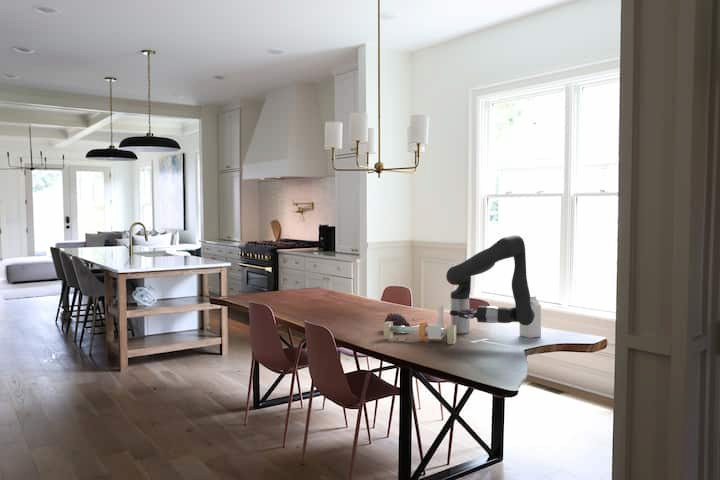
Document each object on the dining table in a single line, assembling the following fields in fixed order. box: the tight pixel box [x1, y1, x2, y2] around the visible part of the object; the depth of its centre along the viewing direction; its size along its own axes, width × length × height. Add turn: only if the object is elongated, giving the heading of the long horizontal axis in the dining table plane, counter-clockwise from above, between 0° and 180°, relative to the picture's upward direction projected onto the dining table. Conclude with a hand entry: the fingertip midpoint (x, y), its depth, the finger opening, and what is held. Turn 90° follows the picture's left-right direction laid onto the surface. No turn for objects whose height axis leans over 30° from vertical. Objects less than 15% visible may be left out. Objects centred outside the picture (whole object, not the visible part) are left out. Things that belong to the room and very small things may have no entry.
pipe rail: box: [383, 321, 457, 345], centre depth 272 cm, size 34×9×8 cm, turn 68°
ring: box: [418, 321, 429, 340], centre depth 272 cm, size 2×8×8 cm, turn 158°
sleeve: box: [427, 304, 445, 340], centre depth 269 cm, size 6×6×15 cm
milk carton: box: [519, 296, 542, 339], centre depth 277 cm, size 7×7×19 cm
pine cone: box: [384, 313, 411, 327], centre depth 295 cm, size 18×10×10 cm
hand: (450, 312), depth 266 cm, fingers closed
